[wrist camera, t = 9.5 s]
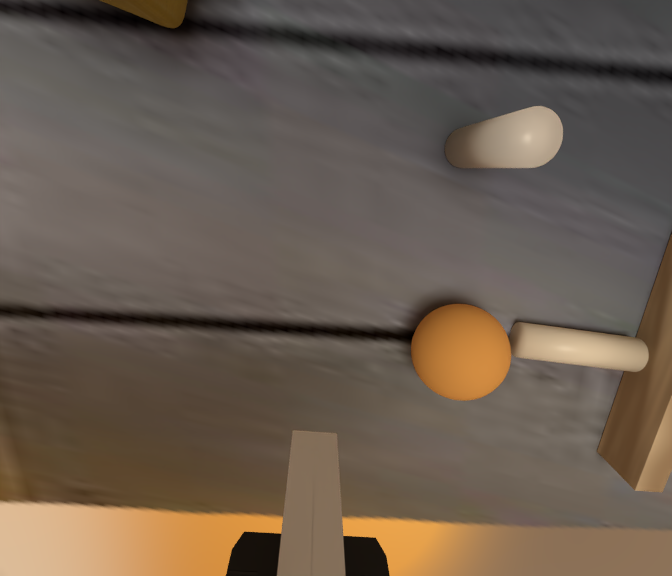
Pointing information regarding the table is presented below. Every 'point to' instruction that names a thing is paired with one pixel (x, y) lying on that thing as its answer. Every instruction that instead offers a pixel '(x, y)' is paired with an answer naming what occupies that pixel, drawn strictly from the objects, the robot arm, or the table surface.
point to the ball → (461, 352)
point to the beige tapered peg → (507, 140)
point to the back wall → (646, 398)
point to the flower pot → (154, 10)
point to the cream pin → (578, 347)
